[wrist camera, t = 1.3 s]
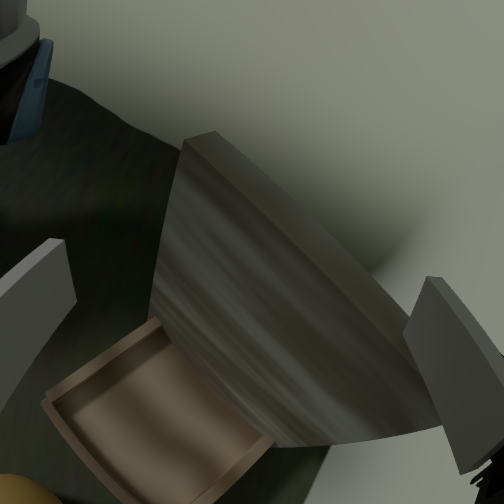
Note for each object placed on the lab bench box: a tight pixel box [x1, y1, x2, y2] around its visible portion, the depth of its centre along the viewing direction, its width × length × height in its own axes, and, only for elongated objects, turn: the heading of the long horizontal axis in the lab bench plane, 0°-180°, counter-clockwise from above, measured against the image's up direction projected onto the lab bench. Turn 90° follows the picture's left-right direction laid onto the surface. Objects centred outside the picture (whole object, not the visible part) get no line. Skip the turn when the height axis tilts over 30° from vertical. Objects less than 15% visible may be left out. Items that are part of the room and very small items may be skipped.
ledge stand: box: [40, 131, 442, 504], centre depth 16 cm, size 16×18×24 cm
